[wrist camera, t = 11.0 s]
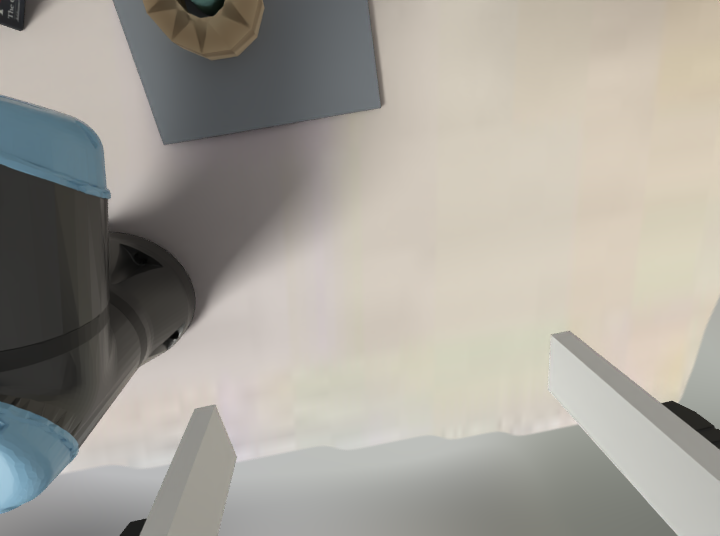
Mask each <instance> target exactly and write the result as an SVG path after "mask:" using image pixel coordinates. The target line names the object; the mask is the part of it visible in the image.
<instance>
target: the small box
mask: <svg viewBox="0 0 720 536" xmlns="http://www.w3.org/2000/svg"><path fill="white" fill-rule="evenodd" d="M24 7H25V0H0V24H1V25H4V26H7V27H10V28H13V29H16V30H19V31H22V30H23V22H24Z"/></svg>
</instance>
